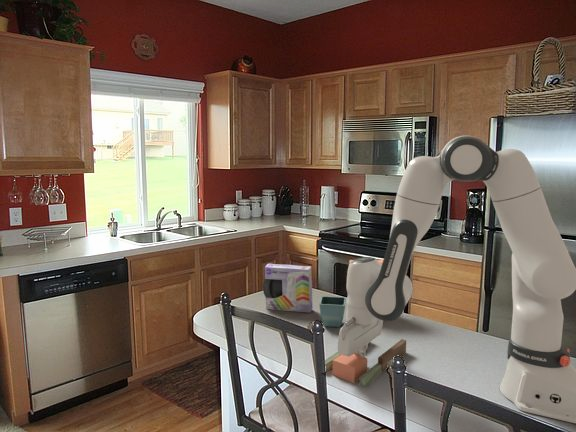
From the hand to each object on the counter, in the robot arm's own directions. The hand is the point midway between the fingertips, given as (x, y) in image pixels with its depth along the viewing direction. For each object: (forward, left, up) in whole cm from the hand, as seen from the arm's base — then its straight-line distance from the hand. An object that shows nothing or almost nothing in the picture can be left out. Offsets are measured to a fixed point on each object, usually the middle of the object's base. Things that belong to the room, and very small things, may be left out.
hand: (360, 359), depth 129 cm
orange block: (0, +6, -2) cm, 6 cm away
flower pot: (+23, -21, -2) cm, 32 cm away
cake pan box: (+45, -23, -2) cm, 51 cm away
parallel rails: (0, -3, -2) cm, 4 cm away
